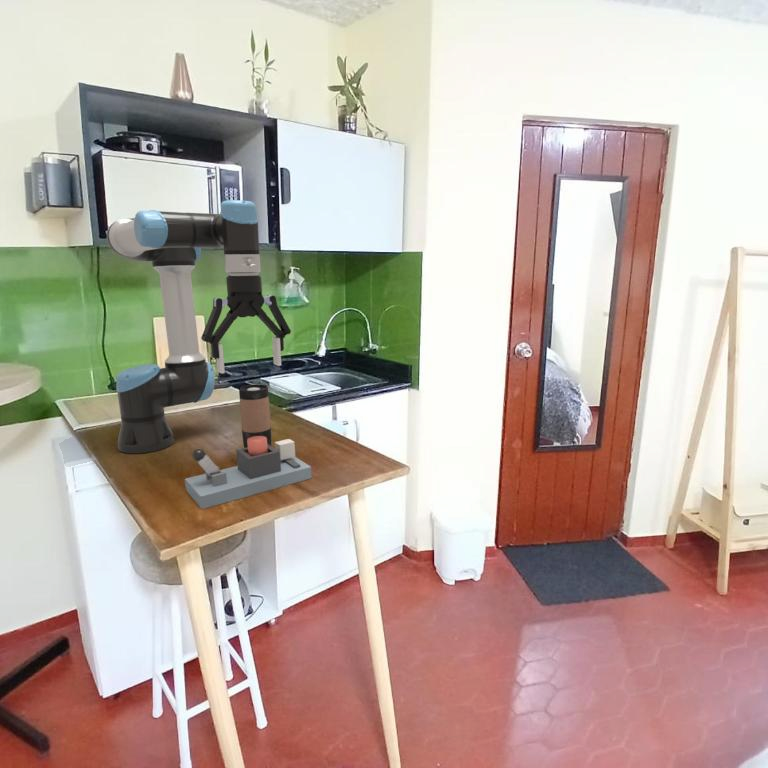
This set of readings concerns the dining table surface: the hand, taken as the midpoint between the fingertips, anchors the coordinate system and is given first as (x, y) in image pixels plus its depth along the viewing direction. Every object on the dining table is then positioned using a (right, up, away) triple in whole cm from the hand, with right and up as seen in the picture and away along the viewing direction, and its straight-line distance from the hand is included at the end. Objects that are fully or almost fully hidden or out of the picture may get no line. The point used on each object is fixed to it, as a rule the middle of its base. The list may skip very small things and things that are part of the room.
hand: (250, 368), depth 119 cm
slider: (+6, -22, +12) cm, 26 cm away
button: (0, -22, +6) cm, 23 cm away
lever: (-8, -25, 0) cm, 26 cm away
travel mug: (-4, -24, +22) cm, 33 cm away
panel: (-1, -28, +6) cm, 28 cm away
